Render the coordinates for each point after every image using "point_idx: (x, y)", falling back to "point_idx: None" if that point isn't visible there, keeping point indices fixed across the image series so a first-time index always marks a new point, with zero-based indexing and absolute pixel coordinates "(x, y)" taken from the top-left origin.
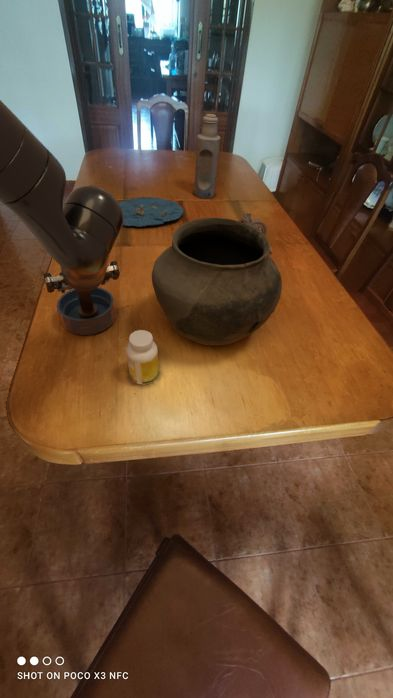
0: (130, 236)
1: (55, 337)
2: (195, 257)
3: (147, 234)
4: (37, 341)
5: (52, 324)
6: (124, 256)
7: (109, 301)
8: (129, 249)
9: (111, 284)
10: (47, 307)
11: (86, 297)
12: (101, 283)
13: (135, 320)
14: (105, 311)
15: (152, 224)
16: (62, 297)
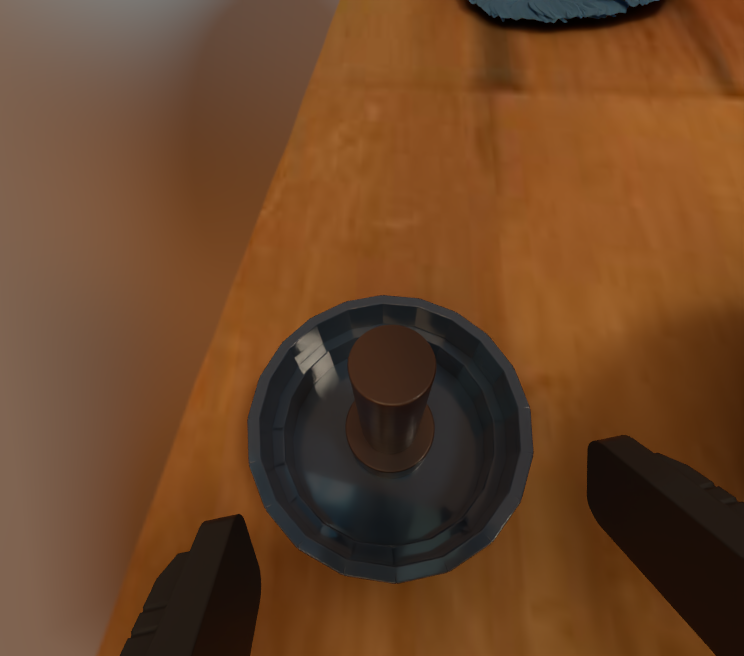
0: (516, 56)
1: None
2: None
3: (570, 51)
4: (165, 550)
5: (239, 445)
6: (505, 130)
7: (486, 382)
8: (518, 103)
9: (468, 251)
10: (235, 341)
11: (403, 431)
12: (610, 525)
13: None
14: (495, 514)
15: (590, 15)
16: (282, 358)
